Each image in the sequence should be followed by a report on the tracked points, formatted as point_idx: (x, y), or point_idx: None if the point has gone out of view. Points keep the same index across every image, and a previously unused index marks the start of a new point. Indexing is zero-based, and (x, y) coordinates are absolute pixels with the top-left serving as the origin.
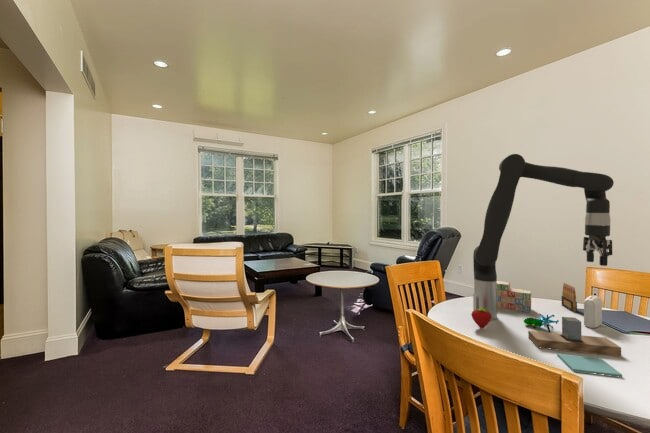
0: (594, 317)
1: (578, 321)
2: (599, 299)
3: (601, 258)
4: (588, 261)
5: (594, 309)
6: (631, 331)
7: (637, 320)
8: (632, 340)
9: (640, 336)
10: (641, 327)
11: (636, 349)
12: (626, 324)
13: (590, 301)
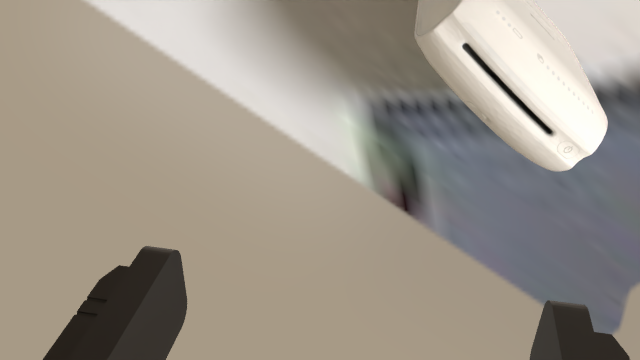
0: (420, 1)
1: None
2: (497, 133)
3: (91, 341)
4: (546, 308)
5: (418, 21)
6: (408, 162)
7: (593, 310)
8: (267, 74)
9: (338, 153)
10: (479, 251)
11: (140, 6)
12: (523, 215)
13: (436, 22)
